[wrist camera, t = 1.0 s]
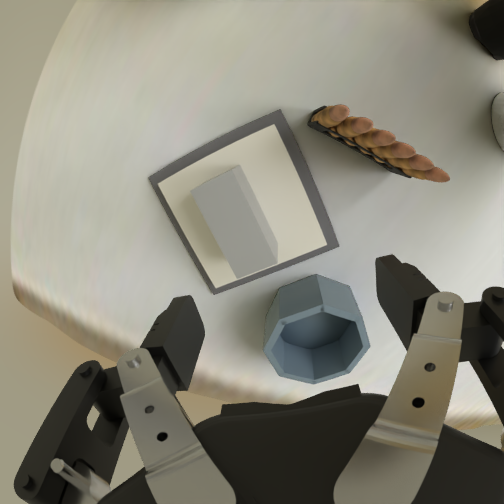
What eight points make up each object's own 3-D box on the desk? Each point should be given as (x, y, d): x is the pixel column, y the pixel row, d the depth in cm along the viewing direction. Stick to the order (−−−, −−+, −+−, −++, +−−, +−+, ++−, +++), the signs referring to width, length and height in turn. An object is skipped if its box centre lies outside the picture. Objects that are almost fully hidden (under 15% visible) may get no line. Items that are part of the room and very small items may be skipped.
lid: (274, 124, 26) (273, 120, 20) (325, 240, 30) (335, 265, 24) (161, 182, 29) (135, 193, 23) (217, 283, 33) (205, 312, 27)
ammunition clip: (399, 158, 26) (461, 174, 15) (392, 172, 27) (452, 196, 16) (314, 110, 25) (338, 90, 14) (306, 125, 26) (326, 115, 15)
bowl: (341, 263, 31) (354, 291, 25) (363, 331, 35) (375, 363, 29) (254, 296, 34) (249, 329, 28) (288, 357, 38) (288, 391, 32)
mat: (280, 109, 25) (280, 109, 25) (338, 244, 30) (339, 246, 30) (150, 176, 29) (148, 177, 29) (214, 292, 34) (213, 294, 34)
